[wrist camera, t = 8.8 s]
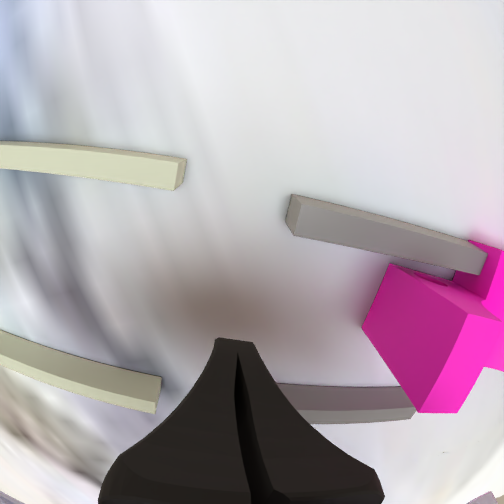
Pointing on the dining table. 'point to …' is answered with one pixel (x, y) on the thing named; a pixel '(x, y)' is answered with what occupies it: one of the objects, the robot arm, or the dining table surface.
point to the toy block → (440, 330)
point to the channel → (385, 242)
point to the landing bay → (56, 362)
